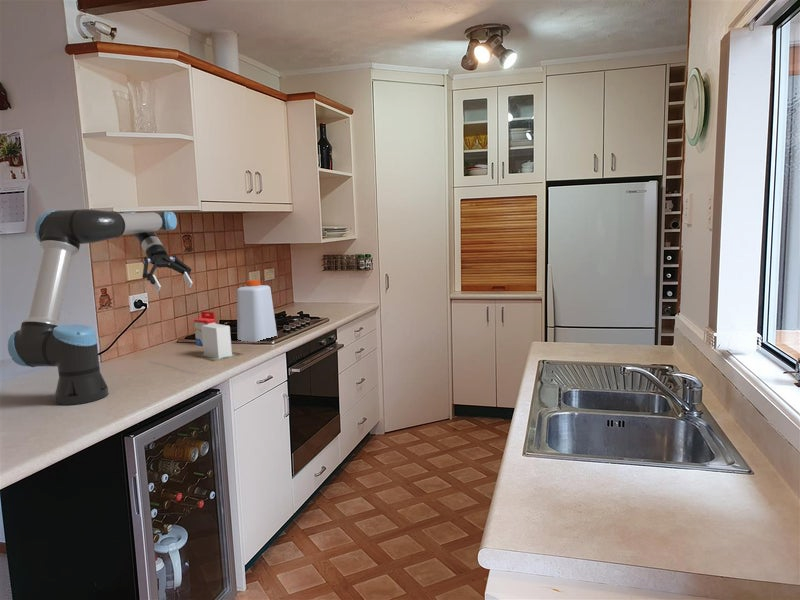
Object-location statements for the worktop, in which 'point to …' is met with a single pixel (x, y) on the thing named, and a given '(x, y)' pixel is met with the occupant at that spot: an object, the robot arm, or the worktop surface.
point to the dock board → (216, 358)
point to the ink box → (200, 322)
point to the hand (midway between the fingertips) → (175, 287)
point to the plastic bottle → (255, 312)
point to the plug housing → (216, 340)
